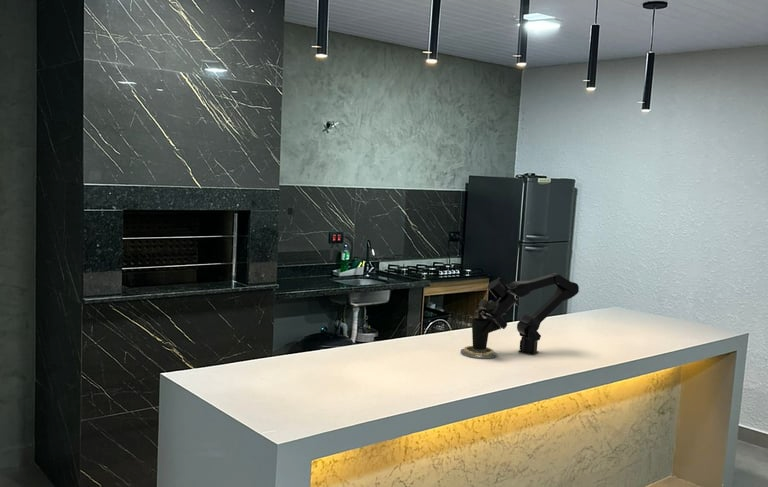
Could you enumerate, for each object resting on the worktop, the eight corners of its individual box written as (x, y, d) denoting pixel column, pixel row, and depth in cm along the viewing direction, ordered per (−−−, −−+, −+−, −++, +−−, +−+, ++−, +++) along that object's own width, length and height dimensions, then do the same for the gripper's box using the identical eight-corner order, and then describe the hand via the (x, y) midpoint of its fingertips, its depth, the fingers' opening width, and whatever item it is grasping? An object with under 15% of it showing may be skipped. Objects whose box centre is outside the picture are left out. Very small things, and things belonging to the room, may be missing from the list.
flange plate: (503, 354, 289) (503, 350, 289) (485, 361, 277) (485, 356, 277) (472, 347, 298) (472, 343, 298) (453, 353, 286) (454, 348, 286)
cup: (489, 350, 283) (491, 322, 282) (471, 349, 284) (472, 321, 282) (487, 346, 291) (489, 318, 290) (469, 345, 291) (471, 317, 290)
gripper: (481, 288, 295) (456, 314, 293) (502, 296, 278) (476, 324, 275) (496, 306, 298) (471, 332, 296) (518, 315, 281) (492, 342, 278)
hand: (477, 332), depth 286 cm, fingers closed on cup, 8 cm apart
